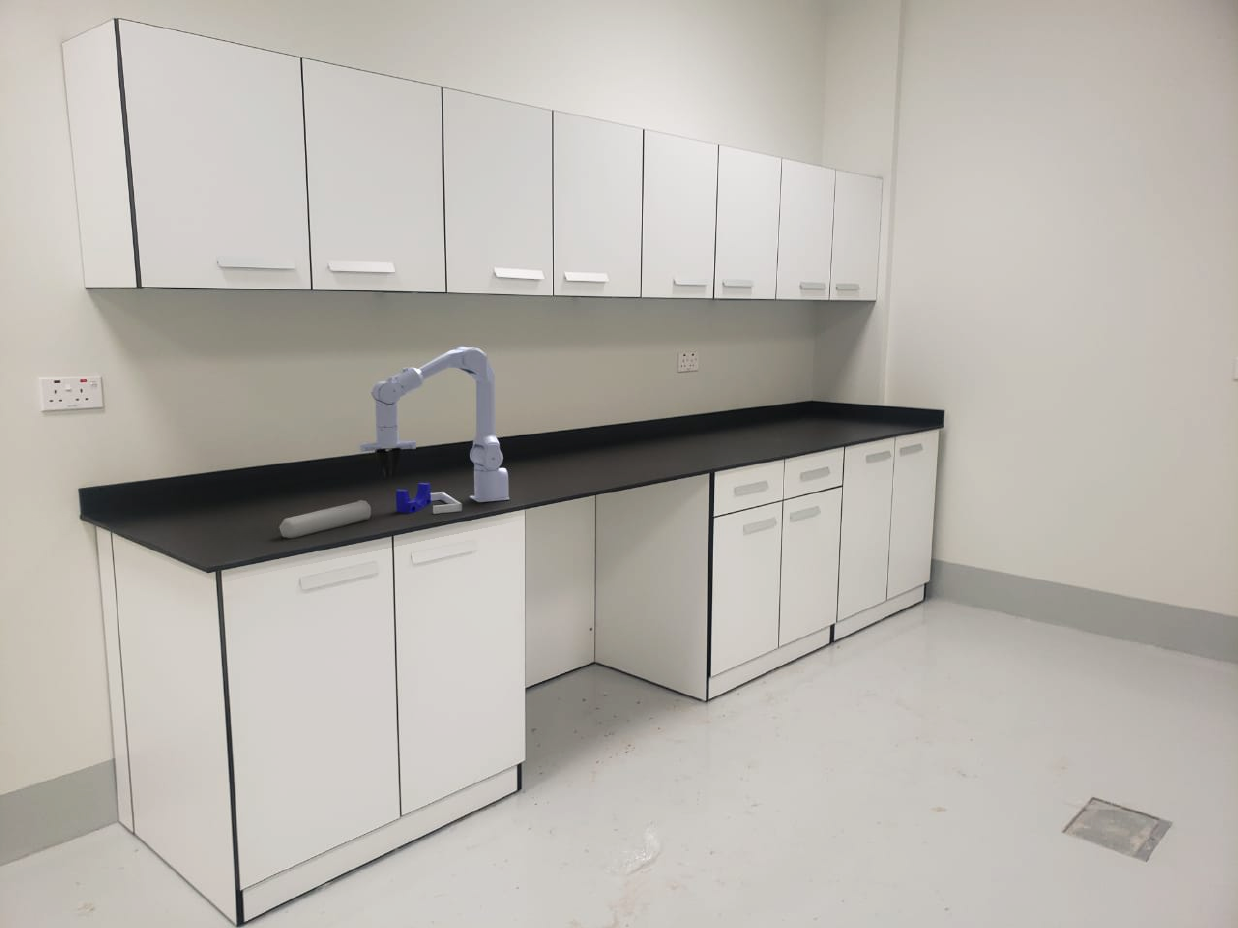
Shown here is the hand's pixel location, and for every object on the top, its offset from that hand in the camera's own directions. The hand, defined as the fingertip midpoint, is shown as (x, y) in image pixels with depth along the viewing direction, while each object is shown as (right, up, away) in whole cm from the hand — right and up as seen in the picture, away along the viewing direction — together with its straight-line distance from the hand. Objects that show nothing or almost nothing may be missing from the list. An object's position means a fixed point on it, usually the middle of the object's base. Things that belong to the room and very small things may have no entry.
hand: (389, 476), depth 237 cm
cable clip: (+6, -9, +5) cm, 12 cm away
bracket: (+12, -8, +8) cm, 16 cm away
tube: (-11, -13, -18) cm, 25 cm away
